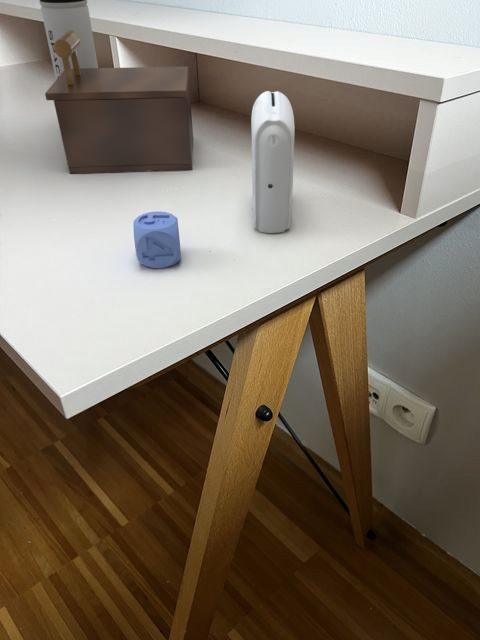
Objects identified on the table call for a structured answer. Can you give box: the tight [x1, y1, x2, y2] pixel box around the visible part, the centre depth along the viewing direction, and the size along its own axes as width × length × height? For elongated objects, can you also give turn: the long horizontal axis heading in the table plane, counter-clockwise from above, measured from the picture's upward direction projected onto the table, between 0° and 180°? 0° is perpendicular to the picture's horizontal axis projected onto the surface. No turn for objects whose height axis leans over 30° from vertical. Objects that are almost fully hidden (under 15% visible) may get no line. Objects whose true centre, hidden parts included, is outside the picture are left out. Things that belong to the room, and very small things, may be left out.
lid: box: [44, 30, 189, 101], centre depth 69 cm, size 16×13×6 cm
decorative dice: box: [132, 210, 182, 269], centre depth 53 cm, size 4×4×4 cm
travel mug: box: [39, 0, 99, 81], centre depth 80 cm, size 6×7×20 cm
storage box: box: [53, 73, 194, 175], centre depth 74 cm, size 16×13×9 cm
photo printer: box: [250, 90, 296, 234], centre depth 58 cm, size 10×4×12 cm, turn 0°
